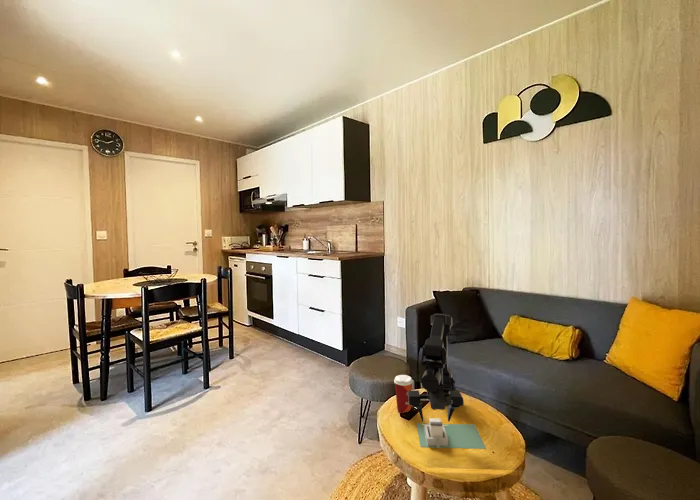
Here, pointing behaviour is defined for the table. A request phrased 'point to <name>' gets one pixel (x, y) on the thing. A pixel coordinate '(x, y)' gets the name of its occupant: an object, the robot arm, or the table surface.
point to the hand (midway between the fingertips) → (435, 420)
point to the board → (451, 436)
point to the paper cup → (403, 392)
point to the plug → (435, 427)
